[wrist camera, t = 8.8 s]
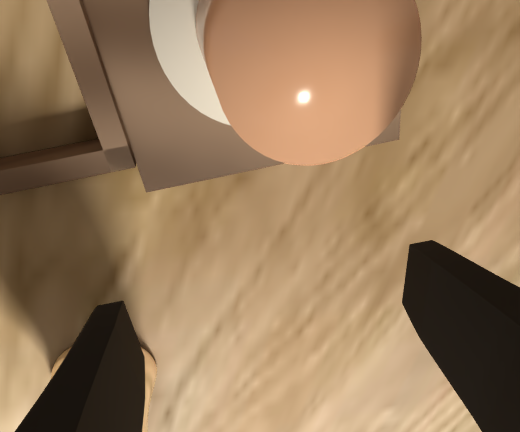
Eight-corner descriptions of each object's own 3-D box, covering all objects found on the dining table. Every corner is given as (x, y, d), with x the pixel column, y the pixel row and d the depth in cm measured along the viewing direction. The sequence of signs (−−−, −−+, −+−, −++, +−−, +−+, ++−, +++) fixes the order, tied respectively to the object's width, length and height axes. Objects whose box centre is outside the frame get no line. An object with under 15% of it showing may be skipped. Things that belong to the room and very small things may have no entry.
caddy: (-278, -113, 12) (-330, -121, 11) (402, -206, 14) (426, -223, 12) (-52, 223, 19) (-68, 242, 17) (389, 132, 20) (404, 143, 19)
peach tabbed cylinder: (208, 103, 17) (229, 180, 11) (169, -119, 13) (171, -188, 7) (327, 84, 17) (411, 148, 11) (324, -135, 13) (448, -211, 7)
